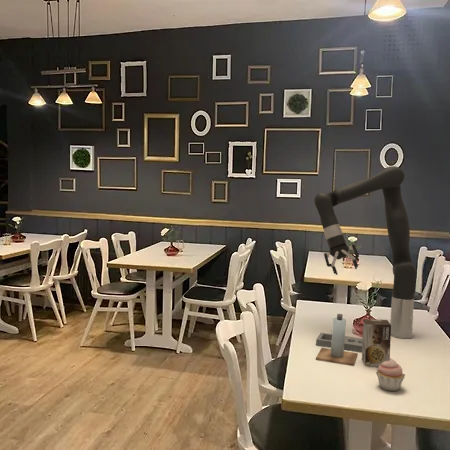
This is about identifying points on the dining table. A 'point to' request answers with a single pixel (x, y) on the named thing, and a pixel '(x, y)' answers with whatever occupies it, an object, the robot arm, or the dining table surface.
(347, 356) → the walnut board
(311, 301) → the dining table surface
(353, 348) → the grey tray
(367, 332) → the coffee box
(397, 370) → the cupcake
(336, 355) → the pale blue bottle
